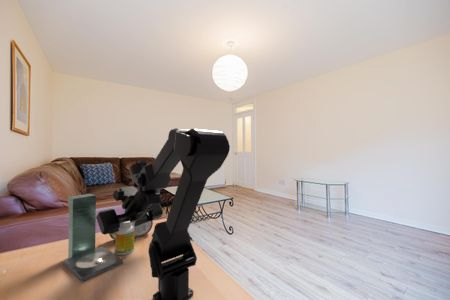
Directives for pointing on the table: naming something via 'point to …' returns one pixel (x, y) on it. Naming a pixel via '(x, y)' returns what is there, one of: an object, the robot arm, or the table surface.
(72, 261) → the stand
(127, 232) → the supplement bottle
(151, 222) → the tin
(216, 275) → the table surface
